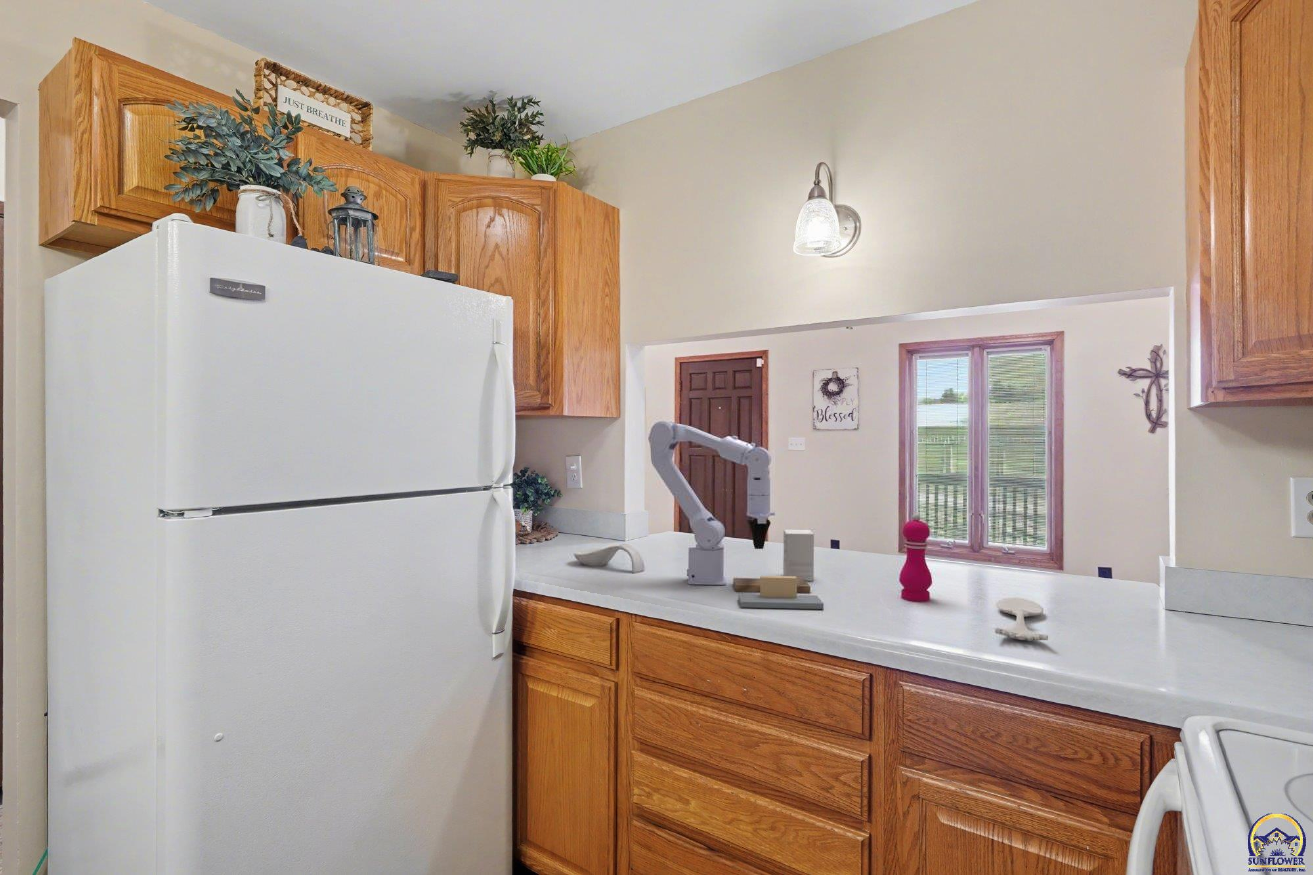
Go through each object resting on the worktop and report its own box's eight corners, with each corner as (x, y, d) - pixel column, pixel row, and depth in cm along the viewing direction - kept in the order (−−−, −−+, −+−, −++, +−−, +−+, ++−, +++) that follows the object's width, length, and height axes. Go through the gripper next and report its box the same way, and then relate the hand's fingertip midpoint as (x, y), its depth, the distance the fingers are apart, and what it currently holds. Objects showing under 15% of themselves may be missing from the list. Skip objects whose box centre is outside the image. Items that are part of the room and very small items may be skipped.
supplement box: (810, 575, 178) (810, 529, 178) (813, 581, 171) (814, 533, 171) (782, 574, 179) (783, 528, 179) (785, 580, 172) (785, 532, 172)
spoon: (993, 645, 121) (993, 626, 121) (996, 606, 149) (996, 591, 149) (1050, 653, 116) (1050, 634, 116) (1042, 611, 144) (1042, 596, 144)
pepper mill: (897, 599, 153) (897, 514, 153) (901, 593, 159) (902, 511, 159) (930, 603, 149) (931, 516, 149) (933, 597, 156) (934, 513, 156)
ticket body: (735, 591, 159) (735, 584, 159) (733, 584, 167) (733, 577, 167) (810, 593, 158) (810, 586, 158) (804, 585, 166) (804, 578, 166)
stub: (740, 607, 144) (741, 581, 144) (738, 599, 151) (738, 574, 151) (823, 608, 143) (823, 583, 143) (816, 600, 150) (817, 576, 150)
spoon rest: (565, 564, 191) (565, 540, 191) (593, 559, 200) (593, 535, 200) (626, 576, 176) (626, 550, 176) (653, 569, 185) (654, 544, 185)
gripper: (778, 497, 158) (778, 553, 158) (770, 492, 173) (771, 543, 173) (749, 497, 159) (749, 553, 159) (744, 492, 173) (744, 543, 173)
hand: (758, 548), depth 166 cm, fingers closed
